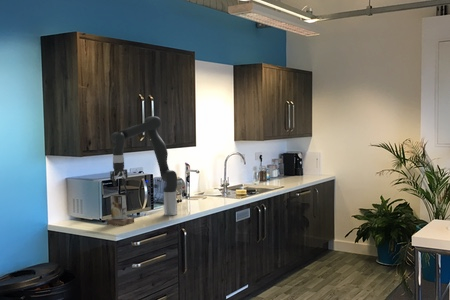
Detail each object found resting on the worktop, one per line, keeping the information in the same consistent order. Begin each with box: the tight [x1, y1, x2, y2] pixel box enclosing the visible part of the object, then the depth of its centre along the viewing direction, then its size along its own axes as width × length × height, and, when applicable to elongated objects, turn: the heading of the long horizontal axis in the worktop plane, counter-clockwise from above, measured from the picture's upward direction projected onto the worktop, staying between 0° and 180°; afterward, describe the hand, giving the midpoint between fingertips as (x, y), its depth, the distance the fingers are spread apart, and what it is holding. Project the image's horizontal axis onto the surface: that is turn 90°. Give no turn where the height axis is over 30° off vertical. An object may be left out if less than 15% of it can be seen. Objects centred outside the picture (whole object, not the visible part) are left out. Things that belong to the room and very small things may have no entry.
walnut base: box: [106, 216, 135, 227], centre depth 339 cm, size 12×14×4 cm
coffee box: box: [110, 194, 128, 219], centre depth 337 cm, size 9×6×16 cm
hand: (119, 185), depth 337 cm, fingers open, 8 cm apart
